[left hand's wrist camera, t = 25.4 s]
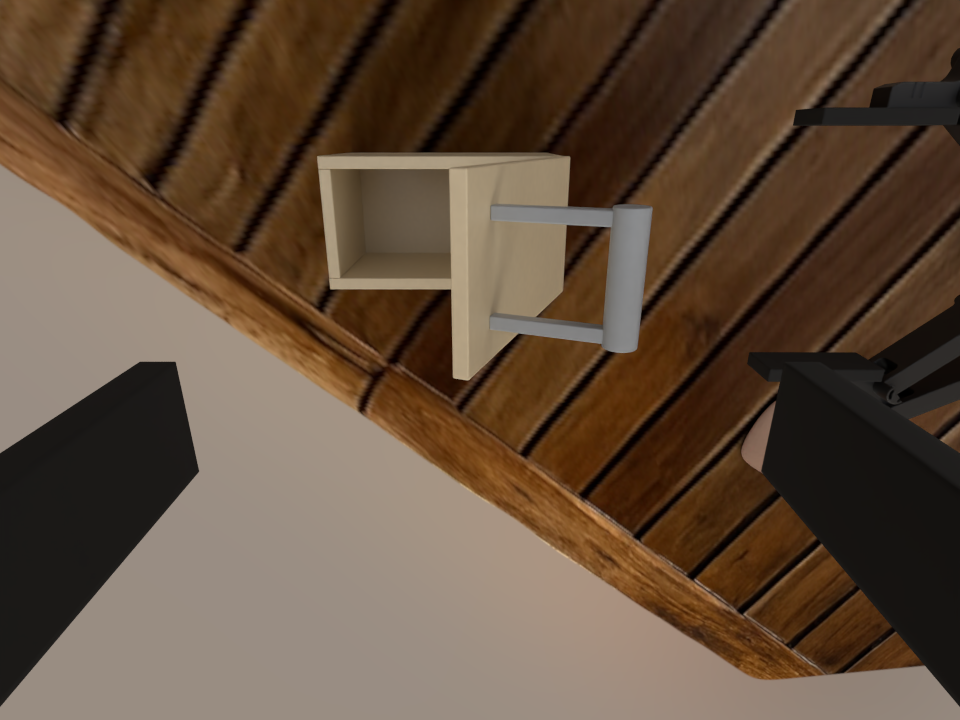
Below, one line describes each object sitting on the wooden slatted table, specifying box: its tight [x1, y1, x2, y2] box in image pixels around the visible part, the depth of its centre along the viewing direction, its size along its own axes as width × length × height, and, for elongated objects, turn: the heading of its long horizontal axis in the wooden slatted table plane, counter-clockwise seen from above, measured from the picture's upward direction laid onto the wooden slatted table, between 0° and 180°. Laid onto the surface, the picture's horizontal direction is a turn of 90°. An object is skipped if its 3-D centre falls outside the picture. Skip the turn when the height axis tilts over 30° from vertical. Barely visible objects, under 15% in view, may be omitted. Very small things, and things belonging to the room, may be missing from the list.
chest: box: [317, 153, 560, 289], centre depth 45 cm, size 17×9×11 cm, turn 90°
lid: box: [449, 156, 653, 380], centre depth 30 cm, size 18×9×8 cm
